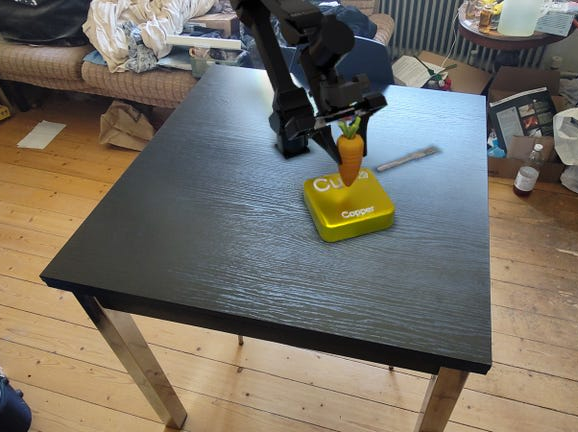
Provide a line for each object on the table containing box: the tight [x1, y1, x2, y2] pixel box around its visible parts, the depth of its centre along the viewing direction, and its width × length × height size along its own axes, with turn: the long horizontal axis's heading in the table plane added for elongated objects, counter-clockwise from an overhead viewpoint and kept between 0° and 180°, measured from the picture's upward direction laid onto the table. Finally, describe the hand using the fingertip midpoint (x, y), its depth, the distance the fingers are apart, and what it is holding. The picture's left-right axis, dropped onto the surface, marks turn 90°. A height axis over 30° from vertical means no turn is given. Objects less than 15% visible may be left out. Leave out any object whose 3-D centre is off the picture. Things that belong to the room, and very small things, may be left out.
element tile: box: [302, 167, 396, 243], centre depth 88 cm, size 15×15×5 cm
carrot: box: [335, 117, 364, 187], centre depth 80 cm, size 5×5×15 cm
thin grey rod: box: [376, 146, 439, 173], centre depth 102 cm, size 17×2×1 cm, turn 120°
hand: (353, 160), depth 80 cm, fingers closed on carrot, 5 cm apart
